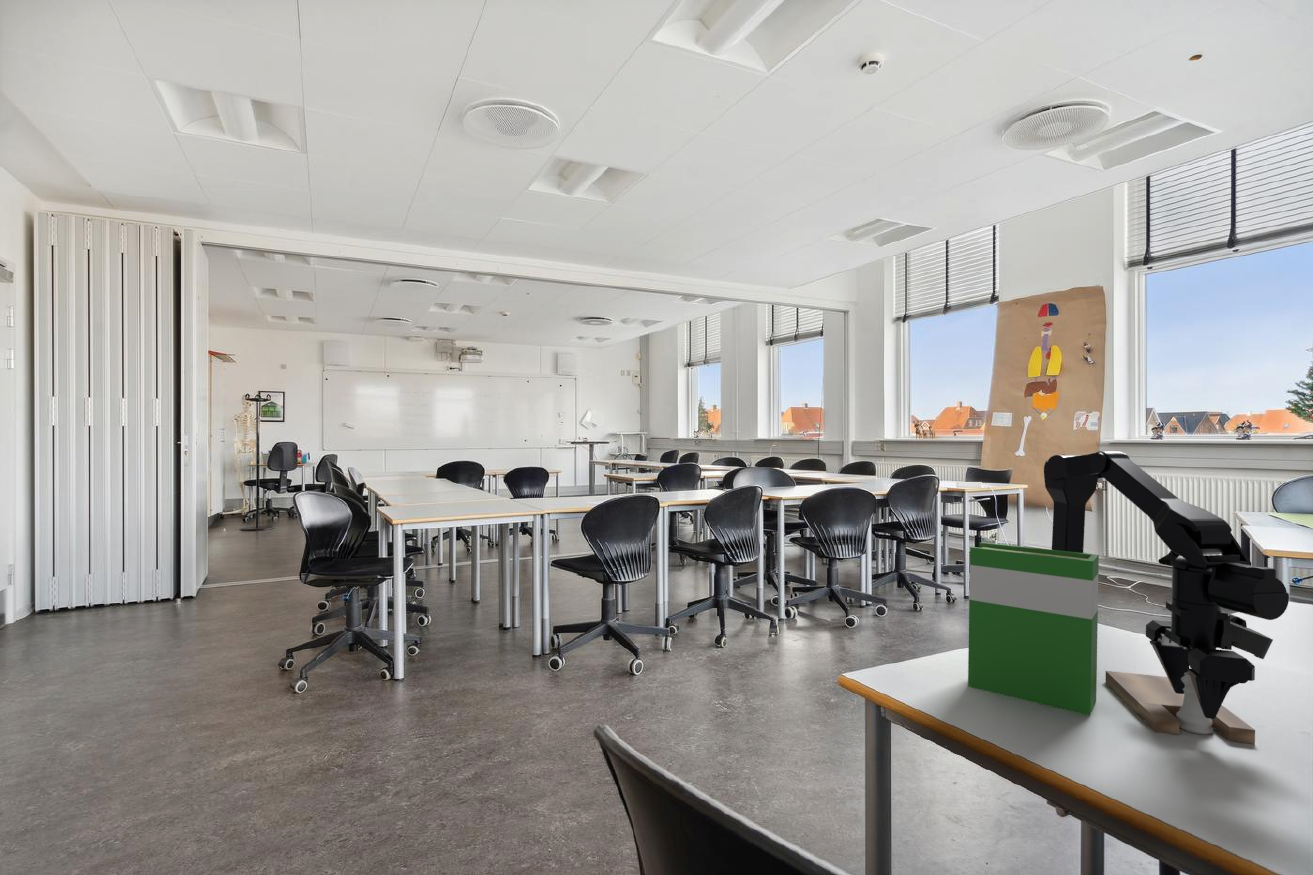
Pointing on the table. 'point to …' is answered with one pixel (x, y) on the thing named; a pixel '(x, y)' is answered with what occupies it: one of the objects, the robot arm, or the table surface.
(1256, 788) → the table surface
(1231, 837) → the table surface
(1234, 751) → the table surface
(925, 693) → the table surface
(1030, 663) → the green open box
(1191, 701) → the rook chess piece
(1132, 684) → the notched board
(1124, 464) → the robot arm
